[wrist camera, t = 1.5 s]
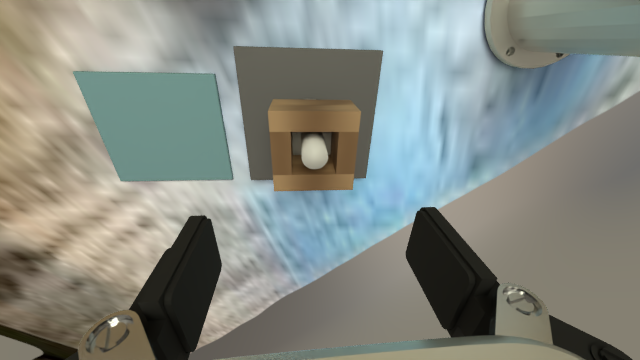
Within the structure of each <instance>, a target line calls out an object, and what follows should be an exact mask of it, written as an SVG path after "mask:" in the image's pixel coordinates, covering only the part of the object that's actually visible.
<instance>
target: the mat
mask: <svg viewBox="0 0 640 360" xmlns="http://www.w3.org/2000/svg"><path fill="white" fill-rule="evenodd" d="M73 74H74V76H75V78H76V80H77V83H78V85H79V87H80V90H81V92H82V94H83V96H84V99H85V101H86V103H87V105H88V108H89V110H90V112H91V115H92V117H93V119H94V121H95V124H96V126H97V128H98V130H99V133H100V135H101V137H102V140H103V142H104V144H105V146H106V149H107V151H108V153H109V155H110V158H111V160H112V162H113V165H114V167H115V169H116V171H117V174H118V176H119V178H120V180H121V181H163V180H226V179H233V174H232V168H231V162H230V157H229V151H228V145H227V139H226V134H225V128H224V122H223V116H222V110H221V105H220V99H219V93H218V87H217V82H216V76H215V74H194V73H141V72H87V71H74V72H73Z"/></svg>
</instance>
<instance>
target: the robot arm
mask: <svg viewBox="0 0 640 360" xmlns="http://www.w3.org/2000/svg"><path fill="white" fill-rule="evenodd" d="M485 32H486V38H487V41H488V44H489V46H490V49H491V50H492V52H493V53H494V55H495V56H496V57H497V58H498V59H499V60H501V61H502V62H503V63H505V64H507V65H510V66H512V67H518V68H530V69H534V68H539V67H545V66H547V65H550V64H553V63H555V62H558V61H559V60H561V59H563V58H565V57H567V56H568V55H570V54H588V55H610V56H633V57H640V0H487V4H486V9H485ZM406 259H407V261H408V263H409V265H410V267H411V268H412V270H413V272H414V274H415V276H416V277H417V280H418V282H419V283H420V285H421V287H422V289H423V291H424V293H425V295H426V297H427V299H428V301H429V302H430V305H431V306H432V308H433V310H434V312H435V314H436V316H437V318H438V320H439V322H440V324H441V325H442V327H443V328H444V329H447V331H448V332H449V334H450V336H451V338H440V339H428V340H416V341H405V342H393V343H381V344H370V345H359V346H348V347H338V348H326V349H315V350H305V351H295V352H284V353H273V354H263V355H254V356H243V357H234V358H224V359H217V360H632V359H631V358H630V357H629V356H627V355H626V354H624V353H623V352H622V351H620V350H618V349H617V348H615V347H613V346H612V345H610V344H607V343H606V342H604V341H602V340H600V339H598V338H595V337H593V336H591V335H589V334H587V333H585V332H583V331H581V330H579V329H577V328H575V327H573V326H571V325H569V324H567V323H565V322H563V321H561V320H559V319H557V318H555V317H553V316H551V315H549V314H548V310H547V307H546V306H545V304H544V303H543V301H542V300H541V299H540V298H538V296H536V295H535V294H534V293H532V292H531V291H529V290H528V289H526V288H524V287H522V286H519V285H516V284H512V283H504V284H501V285H500V284H499V283H498V282H497V277H496V276H495V275H494V274H493V273H492V272H491V271H490V269H489V268H488V267H487V266H486V265H485V264H484V263H483V262H482V260H481V259H480V258H479V257H478V256H477V255H476V253H475V252H474V251H473V250H472V249H471V248H470V246H469V245H468V244H467V243H466V242H465V241H464V240H463V239H462V237H461V236H460V235H459V234H458V233H457V232H456V230H455V229H454V228H453V227H452V226H451V225H450V223H449V222H448V221H447V220H446V219H445V218H444V217H443V216H442V214H441V213H440V212H439V211H438V210H437V209H436V208H435V207H423V208H421V209H420V211H417V213H416V217H415V220H414V224H413V228H412V231H411V235H410V239H409V242H408V246H407V250H406ZM221 266H222V263H221V259H220V254H219V250H218V246H217V242H216V238H215V234H214V230H213V226H212V222H211V219H207V217H206V216H190V217H189V219H188V220H187V222H186V224H185V225H184V227H183V229H182V230H181V232H180V234H179V235H178V237H177V239H176V240H175V242H174V244H173V245H172V247H171V248H169V249H167V250H166V251H165V252H164V254H163V255H162V257H161V259H160V260H159V262H158V264H157V265H156V267H155V268H154V270H153V272H152V273H151V275H150V276H149V278H148V280H147V281H146V283H145V285H144V286H143V288H142V289H141V291H140V293H139V294H138V296H137V297H136V299H135V301H134V302H133V304H132V306H131V307H130V309H129V310H122V311H118V312H114V313H112V314H110V315H107V316H105V317H104V318H102V319H101V320H99V321H98V322H96V323H95V324H94V325H93V326H92V327H91V328H90V329H89V330H88V331H87V332H86V334H85V335H84V336H83V337H82V339H81V342H80V344H79V348H78V352H76V353H75V354H73V355H72V356H70V357H68V358H67V359H65V360H188V358H189V355H190V352H194V351H195V349H196V347H197V344H198V341H199V337H200V334H201V331H202V328H203V325H204V322H205V319H206V316H207V312H208V309H209V306H210V303H211V300H212V297H213V294H214V291H215V287H216V284H217V281H218V278H219V275H220V272H221ZM464 336H465V337H464Z"/></svg>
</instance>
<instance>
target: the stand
mask: <svg viewBox="0 0 640 360" xmlns="http://www.w3.org/2000/svg"><path fill="white" fill-rule="evenodd" d="M234 55H235V62H236V70H237V77H238V85H239V93H240V100H241V108H242V115H243V123H244V130H245V138H246V146H247V153H248V161H249V168H250V176H251V180H273V169H272V157H271V144H270V132H269V119H268V109H269V107H270V105H271V103H272V100H273V99H306V100H351V101H352V102H353V103H354V104H355V105H356V107H357V108H358V109H359V110H360V111H361V116H360V126H359V135H358V144H357V153H356V162H355V171H354V178H366V172H367V165H368V158H369V150H370V143H371V136H372V128H373V121H374V114H375V107H376V99H377V92H378V85H379V77H380V70H381V63H382V56H383V51H381V50H351V49H315V48H280V47H244V46H234ZM331 134H332V132H292V148H293V155H302V162H303V164H304V165H305V166H306V167H308V168H310V169H319V168H322V167H323V166H324V165H325V164H326V163H327V161H328V155H330V153H331Z"/></svg>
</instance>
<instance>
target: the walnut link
mask: <svg viewBox="0 0 640 360" xmlns="http://www.w3.org/2000/svg"><path fill="white" fill-rule="evenodd" d="M360 116H361V111H360V110H359V109H358V108H357V107H356V105H355V104H354V103H353V102H352V101H351V100H306V99H273V100H272V103H271V105H270V107H269V109H268V119H269V132H270V144H271V157H272V169H273V182H274V191H308V190H353V180H354V171H355V162H356V153H357V144H358V135H359V126H360ZM292 132H332V134H331V153H330V155H328V161H327V163H326V164H325V165H324V166H323V167H322V168H319V169H310V168H308V167H306V166H305V165H304V164H303V162H302V155H293V148H292Z"/></svg>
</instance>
